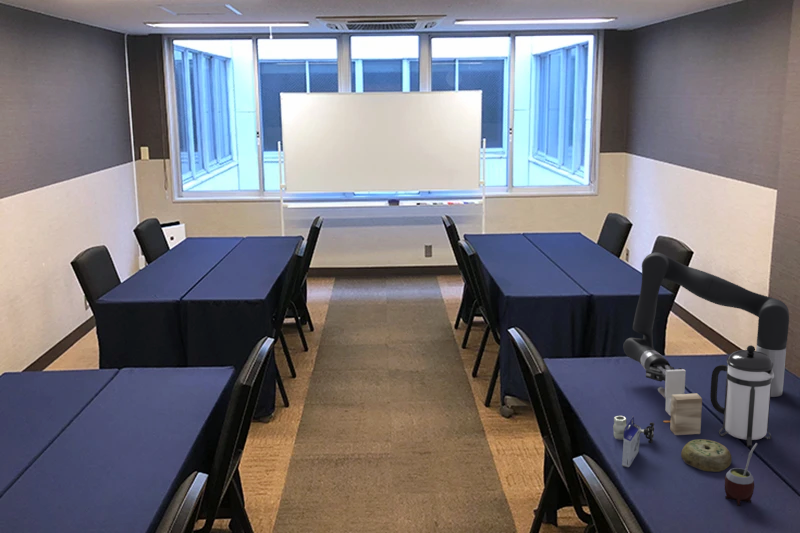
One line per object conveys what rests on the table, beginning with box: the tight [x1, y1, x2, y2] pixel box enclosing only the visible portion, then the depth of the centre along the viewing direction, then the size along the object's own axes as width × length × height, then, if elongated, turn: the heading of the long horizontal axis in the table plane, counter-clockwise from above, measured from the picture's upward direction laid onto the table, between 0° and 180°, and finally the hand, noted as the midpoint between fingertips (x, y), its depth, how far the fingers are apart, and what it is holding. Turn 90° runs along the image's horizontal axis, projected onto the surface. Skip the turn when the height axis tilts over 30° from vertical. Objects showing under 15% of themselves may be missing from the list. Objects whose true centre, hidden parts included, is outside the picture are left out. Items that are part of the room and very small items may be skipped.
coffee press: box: [709, 345, 774, 448], centre depth 224 cm, size 17×16×30 cm
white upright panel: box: [664, 368, 686, 417], centre depth 237 cm, size 4×6×14 cm, turn 92°
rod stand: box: [657, 386, 703, 436], centre depth 239 cm, size 23×8×12 cm, turn 2°
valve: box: [612, 415, 655, 444], centre depth 228 cm, size 7×7×12 cm
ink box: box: [621, 415, 641, 468], centre depth 215 cm, size 12×2×12 cm, turn 148°
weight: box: [680, 438, 733, 473], centre depth 213 cm, size 14×13×5 cm
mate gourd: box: [724, 442, 758, 507], centre depth 191 cm, size 8×8×15 cm
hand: (674, 382), depth 238 cm, fingers closed
